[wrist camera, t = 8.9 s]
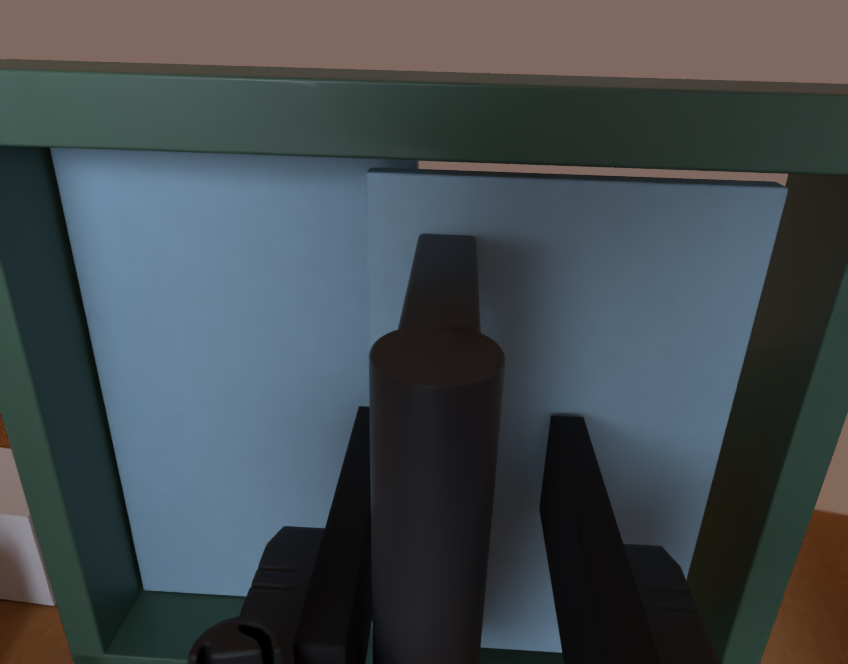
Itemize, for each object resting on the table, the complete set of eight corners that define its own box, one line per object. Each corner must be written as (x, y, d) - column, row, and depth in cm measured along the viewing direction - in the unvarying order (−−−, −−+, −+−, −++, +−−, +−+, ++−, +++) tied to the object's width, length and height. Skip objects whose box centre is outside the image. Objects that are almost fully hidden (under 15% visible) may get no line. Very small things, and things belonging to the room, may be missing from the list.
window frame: (698, 638, 21) (857, 84, 14) (736, 734, 18) (960, 97, 11) (130, 602, 22) (7, 59, 15) (79, 688, 19) (-104, 65, 12)
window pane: (660, 642, 19) (777, 181, 13) (759, 949, 13) (1062, 318, 7) (374, 623, 19) (369, 166, 14) (330, 914, 13) (287, 284, 7)
